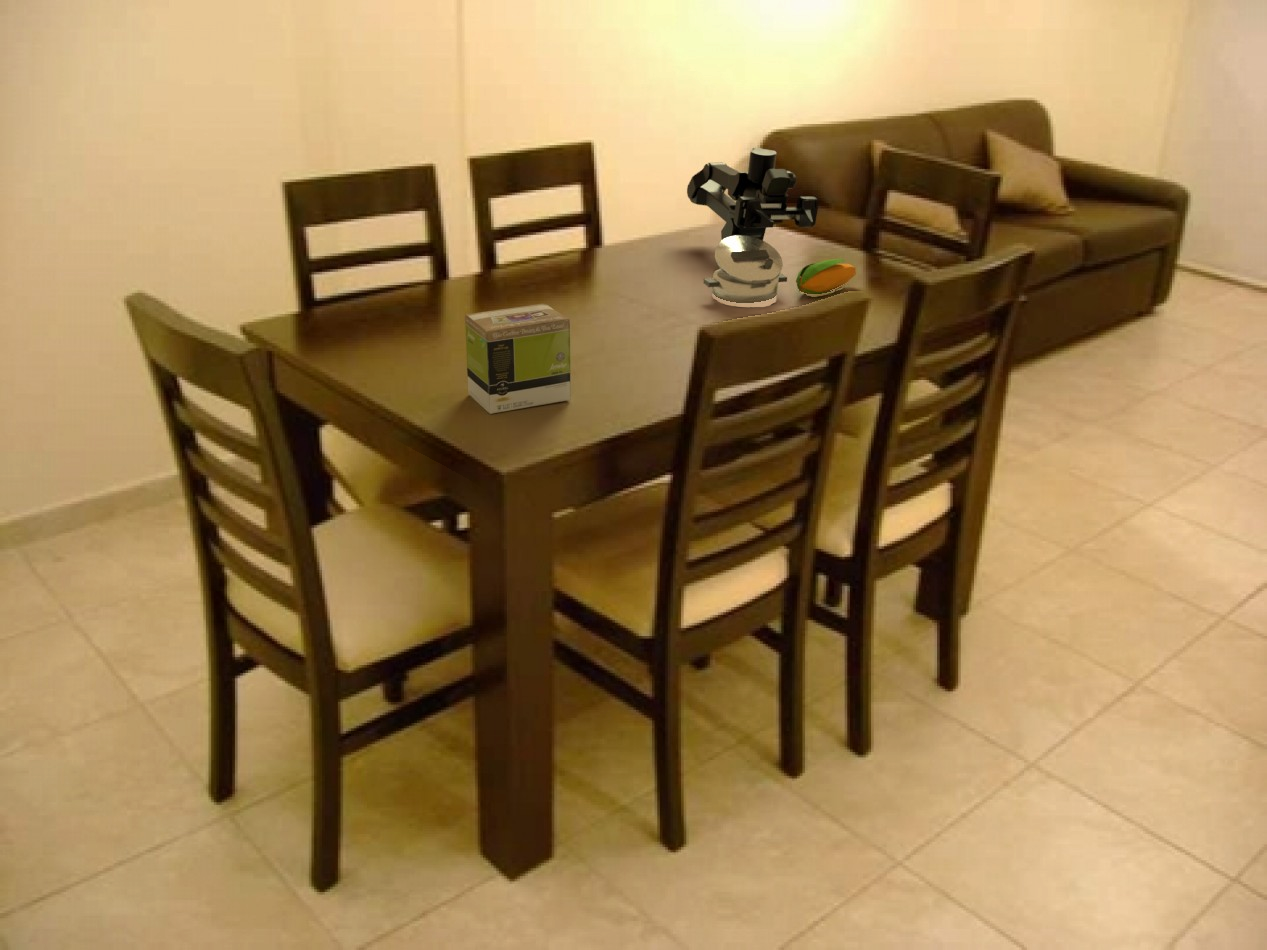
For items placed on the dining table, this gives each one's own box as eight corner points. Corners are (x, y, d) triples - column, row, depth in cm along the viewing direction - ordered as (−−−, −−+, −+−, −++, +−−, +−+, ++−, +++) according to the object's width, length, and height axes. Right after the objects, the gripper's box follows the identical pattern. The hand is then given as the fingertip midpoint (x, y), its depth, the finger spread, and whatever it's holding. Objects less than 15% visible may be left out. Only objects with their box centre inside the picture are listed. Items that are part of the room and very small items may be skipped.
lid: (705, 240, 257) (708, 231, 255) (766, 237, 262) (769, 227, 260) (729, 287, 249) (732, 278, 247) (792, 283, 253) (795, 273, 251)
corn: (789, 262, 258) (842, 247, 271) (784, 296, 262) (837, 279, 275) (817, 272, 254) (870, 256, 267) (811, 306, 258) (863, 288, 271)
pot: (692, 291, 262) (694, 269, 260) (768, 286, 268) (770, 264, 266) (718, 311, 251) (720, 287, 248) (796, 304, 257) (799, 281, 254)
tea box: (546, 382, 211) (547, 301, 204) (571, 402, 203) (572, 318, 196) (466, 394, 204) (464, 311, 198) (488, 416, 196) (486, 329, 190)
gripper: (729, 164, 258) (757, 187, 245) (807, 165, 264) (839, 187, 251) (722, 214, 263) (749, 239, 251) (798, 214, 269) (829, 238, 257)
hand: (792, 224), depth 252 cm, fingers open, 9 cm apart
